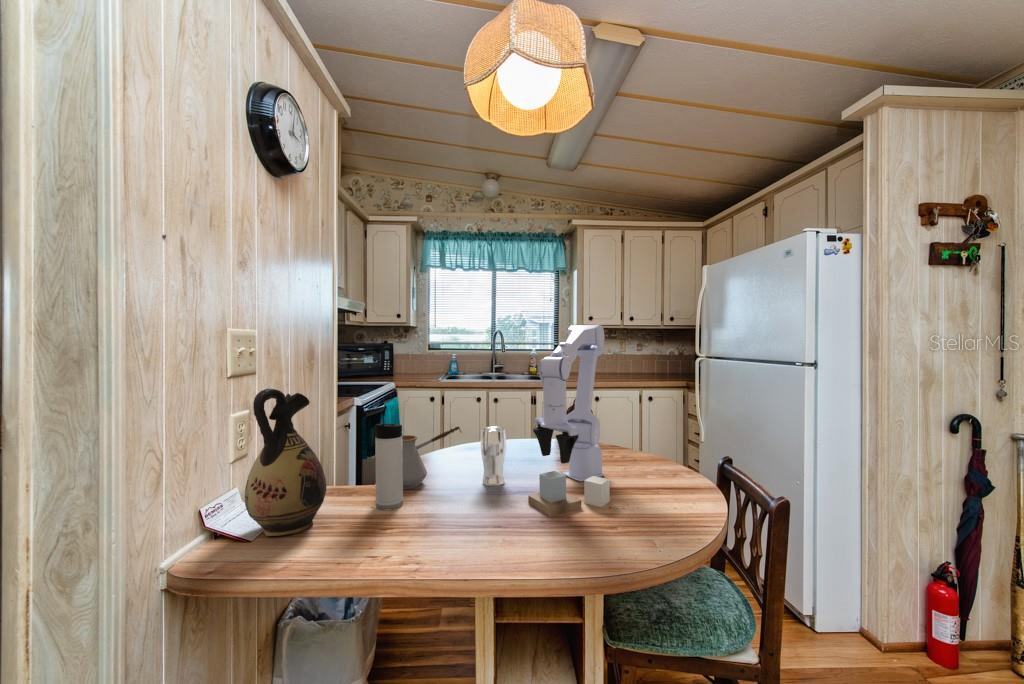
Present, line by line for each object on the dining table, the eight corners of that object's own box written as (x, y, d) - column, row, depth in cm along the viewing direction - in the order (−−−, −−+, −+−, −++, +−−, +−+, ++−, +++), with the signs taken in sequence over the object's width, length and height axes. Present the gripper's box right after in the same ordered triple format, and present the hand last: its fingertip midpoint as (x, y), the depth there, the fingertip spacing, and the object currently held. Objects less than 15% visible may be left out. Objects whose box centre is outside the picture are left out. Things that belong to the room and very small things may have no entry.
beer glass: (505, 487, 116) (505, 431, 116) (479, 487, 116) (479, 431, 116) (506, 478, 123) (506, 426, 123) (482, 478, 123) (481, 426, 123)
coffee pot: (384, 494, 111) (383, 436, 111) (383, 480, 122) (383, 427, 122) (465, 485, 118) (465, 430, 117) (458, 472, 129) (458, 422, 128)
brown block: (558, 498, 109) (558, 488, 109) (581, 510, 101) (581, 500, 101) (528, 505, 105) (528, 495, 105) (549, 519, 97) (549, 508, 97)
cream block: (592, 497, 108) (592, 475, 108) (609, 501, 105) (609, 479, 105) (584, 503, 104) (584, 480, 104) (601, 507, 102) (601, 484, 102)
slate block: (554, 493, 106) (554, 470, 106) (566, 499, 102) (566, 475, 102) (539, 496, 103) (539, 474, 103) (550, 503, 100) (550, 479, 100)
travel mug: (369, 508, 102) (368, 423, 102) (389, 498, 108) (388, 419, 108) (389, 512, 99) (388, 426, 99) (408, 503, 105) (407, 421, 105)
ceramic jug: (291, 508, 102) (290, 382, 102) (342, 518, 96) (340, 384, 96) (219, 540, 87) (217, 390, 86) (274, 554, 81) (272, 394, 80)
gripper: (525, 402, 112) (525, 454, 112) (560, 410, 99) (561, 469, 100) (546, 399, 115) (547, 450, 116) (583, 407, 103) (584, 463, 103)
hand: (555, 458), depth 108 cm, fingers open, 7 cm apart
